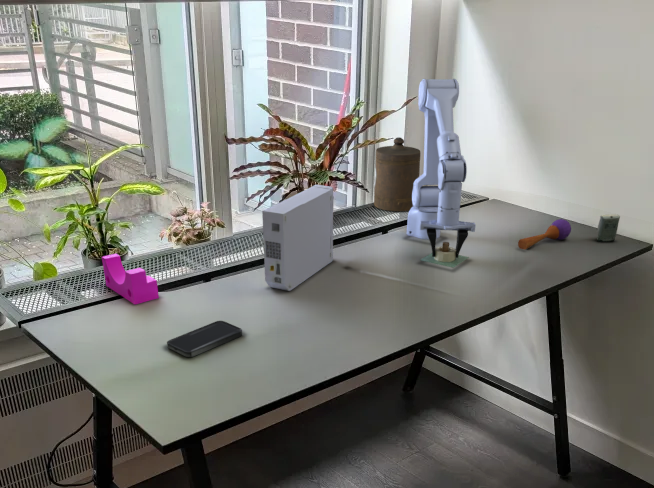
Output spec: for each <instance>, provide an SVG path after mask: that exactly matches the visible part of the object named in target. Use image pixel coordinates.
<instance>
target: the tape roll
mask: <svg viewBox="0 0 654 488" xmlns="http://www.w3.org/2000/svg"><path fill="white" fill-rule="evenodd" d="M434 258H435V260H437V261H441V262H452V261H454V260H455V258H456V248H455V247H452V246H449V252H442V245H441V246H437V247H435V257H434Z"/></svg>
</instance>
